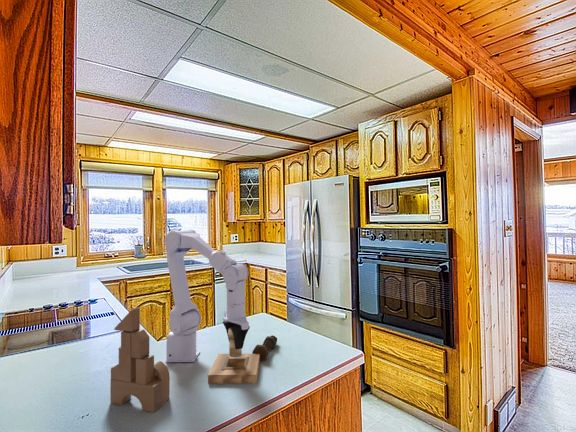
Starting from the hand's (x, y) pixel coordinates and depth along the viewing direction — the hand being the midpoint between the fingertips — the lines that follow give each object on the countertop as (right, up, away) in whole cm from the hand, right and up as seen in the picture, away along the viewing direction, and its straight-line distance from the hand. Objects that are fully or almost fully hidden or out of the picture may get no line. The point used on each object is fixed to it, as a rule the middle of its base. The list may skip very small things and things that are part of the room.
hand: (235, 345), depth 98 cm
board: (0, -8, 0) cm, 8 cm away
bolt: (+9, -9, +14) cm, 19 cm away
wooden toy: (-23, -8, -15) cm, 29 cm away
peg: (0, -3, 0) cm, 3 cm away
